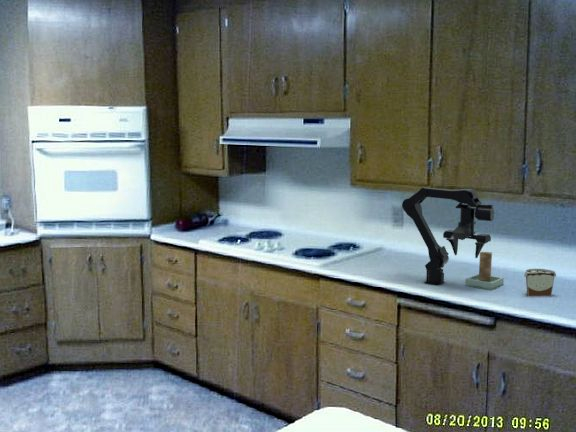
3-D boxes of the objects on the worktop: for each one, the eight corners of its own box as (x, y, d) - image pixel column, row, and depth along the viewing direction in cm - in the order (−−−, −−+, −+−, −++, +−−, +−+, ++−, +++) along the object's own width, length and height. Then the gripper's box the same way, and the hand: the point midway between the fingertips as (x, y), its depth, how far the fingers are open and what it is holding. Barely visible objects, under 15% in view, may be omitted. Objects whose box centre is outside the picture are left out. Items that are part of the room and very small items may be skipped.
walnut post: (478, 283, 272) (479, 253, 271) (479, 281, 276) (480, 251, 275) (489, 284, 270) (491, 253, 269) (490, 282, 275) (491, 252, 273)
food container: (548, 292, 262) (549, 268, 261) (555, 296, 256) (556, 271, 255) (518, 292, 262) (519, 268, 260) (524, 296, 256) (525, 271, 254)
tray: (465, 285, 273) (465, 278, 272) (477, 280, 282) (477, 273, 281) (491, 290, 265) (491, 283, 265) (503, 284, 274) (503, 278, 274)
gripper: (437, 219, 267) (436, 256, 269) (480, 224, 254) (478, 263, 257) (450, 216, 275) (448, 252, 277) (492, 220, 263) (490, 258, 265)
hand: (465, 256), depth 269 cm, fingers open, 9 cm apart
